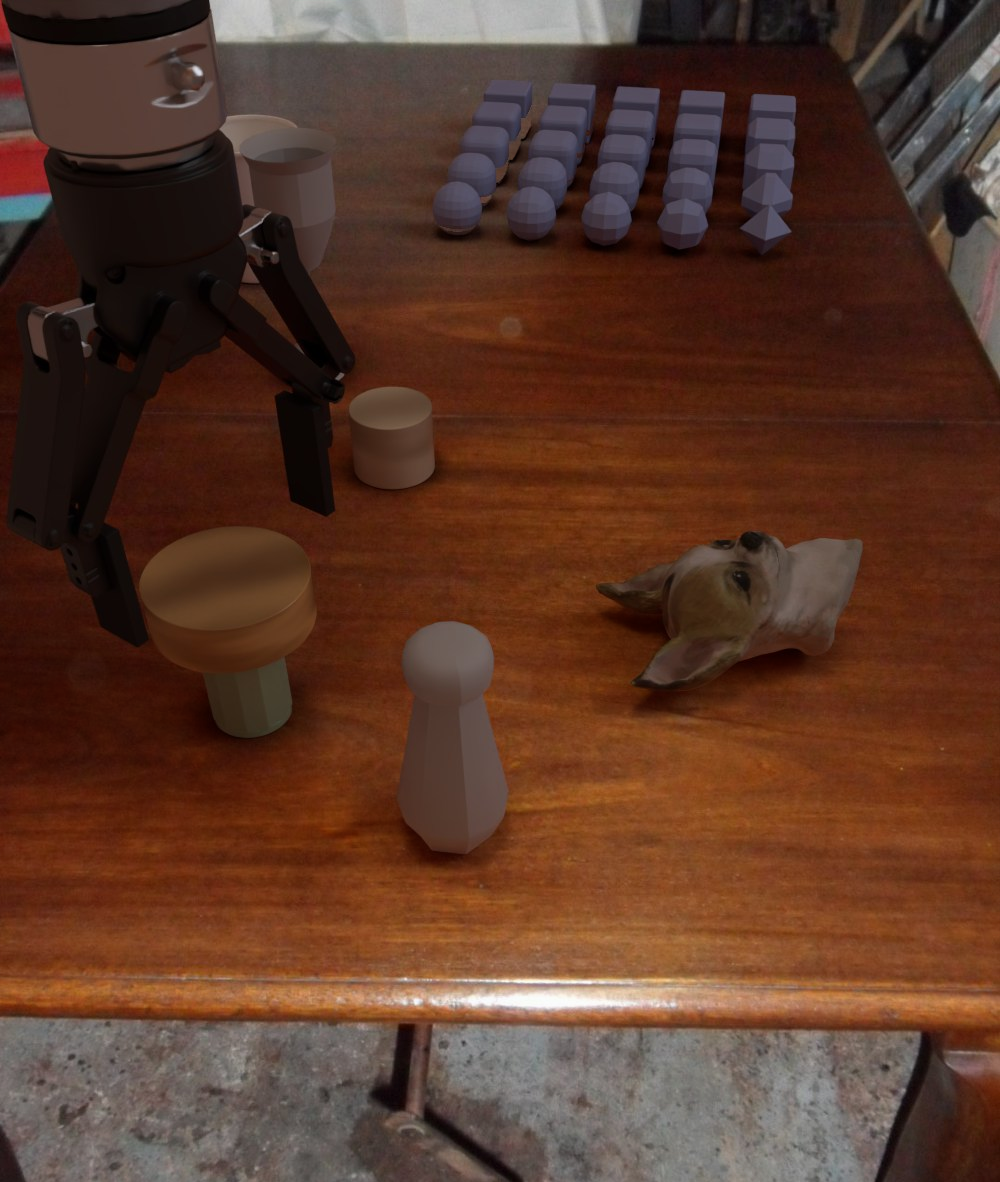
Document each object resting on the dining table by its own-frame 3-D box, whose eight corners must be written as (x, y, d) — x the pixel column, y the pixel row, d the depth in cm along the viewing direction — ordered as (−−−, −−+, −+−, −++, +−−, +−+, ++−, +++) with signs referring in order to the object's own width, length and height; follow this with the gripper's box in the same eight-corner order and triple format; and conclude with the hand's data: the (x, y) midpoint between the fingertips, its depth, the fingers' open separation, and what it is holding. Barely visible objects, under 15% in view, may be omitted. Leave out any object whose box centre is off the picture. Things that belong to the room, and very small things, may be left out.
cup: (208, 692, 71) (187, 601, 66) (285, 677, 72) (269, 586, 67) (218, 745, 68) (196, 653, 63) (298, 728, 69) (283, 636, 64)
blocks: (788, 141, 137) (796, 95, 134) (787, 268, 113) (796, 215, 110) (491, 123, 142) (491, 78, 138) (428, 241, 118) (426, 190, 114)
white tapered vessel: (332, 271, 113) (318, 137, 104) (237, 297, 109) (215, 160, 100) (285, 236, 119) (268, 107, 110) (193, 259, 115) (169, 127, 106)
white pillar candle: (347, 452, 90) (340, 393, 86) (423, 440, 91) (420, 381, 88) (363, 495, 86) (357, 434, 82) (444, 482, 87) (441, 421, 84)
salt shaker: (382, 849, 62) (361, 665, 53) (425, 774, 66) (413, 590, 57) (485, 880, 61) (482, 697, 52) (524, 802, 65) (527, 618, 56)
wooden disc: (143, 585, 67) (132, 541, 65) (301, 556, 69) (294, 513, 67) (158, 688, 61) (146, 644, 59) (331, 654, 63) (325, 610, 61)
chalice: (314, 343, 102) (287, 121, 90) (374, 365, 100) (356, 139, 87) (254, 378, 98) (218, 149, 86) (316, 402, 95) (288, 169, 83)
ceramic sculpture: (903, 572, 65) (635, 614, 64) (878, 688, 71) (633, 728, 70) (833, 468, 72) (592, 503, 71) (816, 581, 78) (594, 615, 77)
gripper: (-79, 269, 39) (83, 730, 54) (406, 76, 53) (428, 481, 68) (-207, 217, 42) (-20, 666, 57) (283, 48, 56) (330, 441, 71)
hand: (224, 566), depth 62 cm, fingers open, 13 cm apart
